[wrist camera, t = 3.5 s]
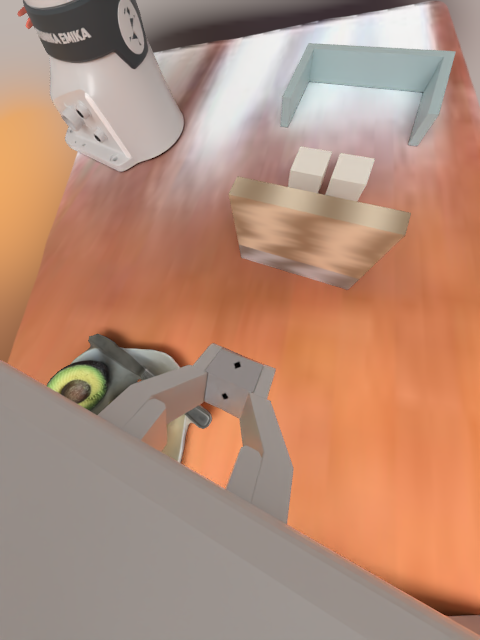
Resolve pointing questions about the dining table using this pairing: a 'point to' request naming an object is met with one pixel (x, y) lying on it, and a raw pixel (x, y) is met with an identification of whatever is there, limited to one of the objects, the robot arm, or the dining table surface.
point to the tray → (375, 76)
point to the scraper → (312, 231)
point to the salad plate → (122, 383)
